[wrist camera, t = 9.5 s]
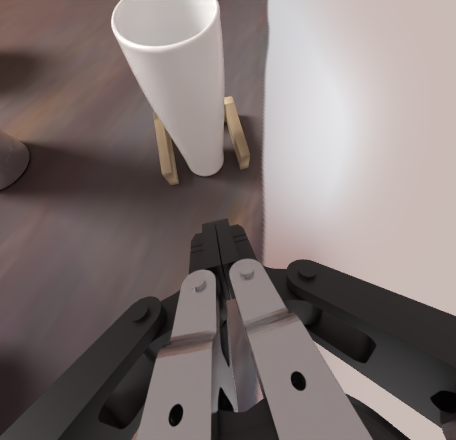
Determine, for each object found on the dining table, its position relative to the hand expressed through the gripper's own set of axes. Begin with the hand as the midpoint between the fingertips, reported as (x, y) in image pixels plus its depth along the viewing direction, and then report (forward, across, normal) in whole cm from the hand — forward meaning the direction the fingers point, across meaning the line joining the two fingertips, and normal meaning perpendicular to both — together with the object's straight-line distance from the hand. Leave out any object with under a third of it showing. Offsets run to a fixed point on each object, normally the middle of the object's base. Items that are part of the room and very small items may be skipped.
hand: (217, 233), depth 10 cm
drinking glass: (+17, 0, -1) cm, 17 cm away
